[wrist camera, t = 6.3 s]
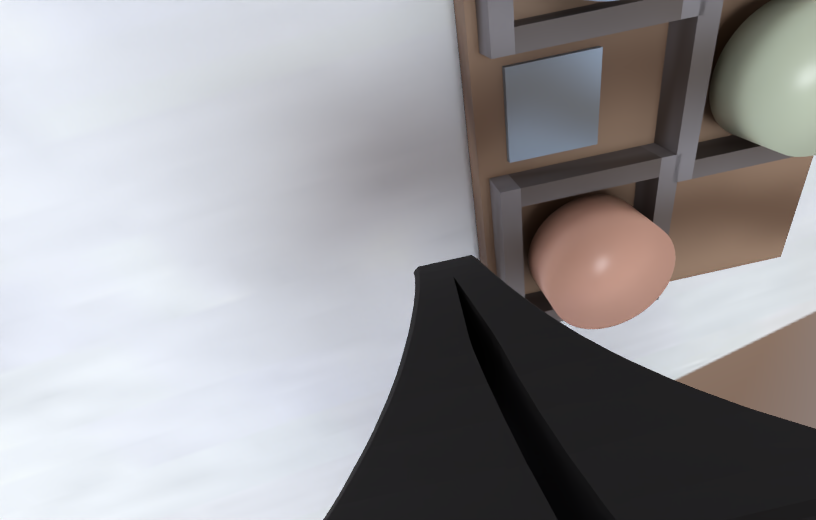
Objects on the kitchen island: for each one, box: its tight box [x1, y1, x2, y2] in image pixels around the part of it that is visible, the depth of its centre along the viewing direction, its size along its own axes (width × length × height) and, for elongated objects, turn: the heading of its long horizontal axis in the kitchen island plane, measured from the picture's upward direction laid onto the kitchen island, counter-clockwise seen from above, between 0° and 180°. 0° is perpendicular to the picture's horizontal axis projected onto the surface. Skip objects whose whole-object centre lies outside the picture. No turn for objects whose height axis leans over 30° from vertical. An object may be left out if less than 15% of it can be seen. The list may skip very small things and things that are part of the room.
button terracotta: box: [528, 194, 676, 329], centre depth 19 cm, size 5×5×2 cm
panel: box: [454, 0, 813, 322], centre depth 18 cm, size 20×15×3 cm
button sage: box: [709, 0, 816, 157], centre depth 16 cm, size 5×5×2 cm
